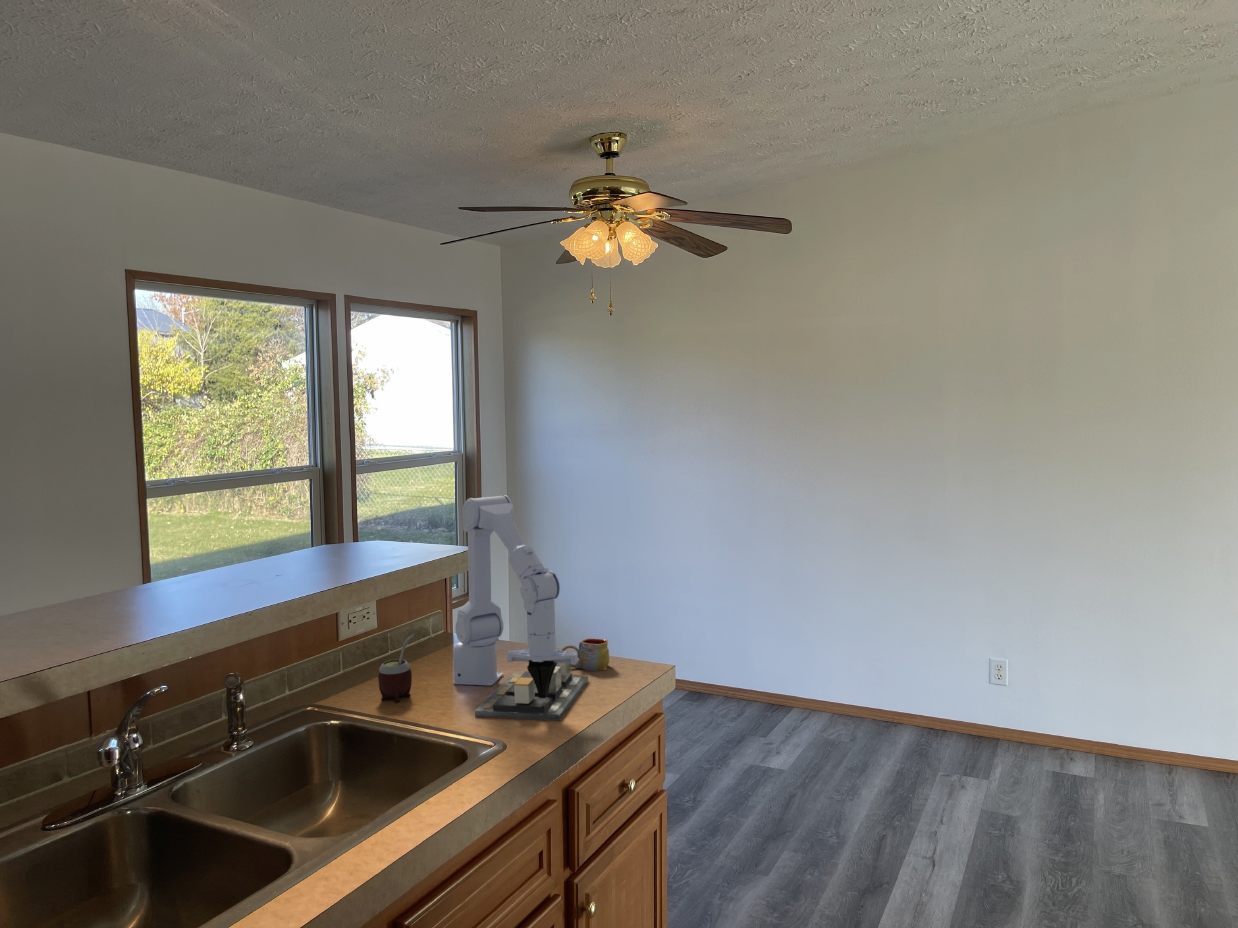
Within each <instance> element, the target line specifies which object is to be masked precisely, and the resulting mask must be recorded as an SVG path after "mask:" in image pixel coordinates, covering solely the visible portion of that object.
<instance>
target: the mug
mask: <svg viewBox="0 0 1238 928" xmlns="http://www.w3.org/2000/svg"><path fill="white" fill-rule="evenodd" d="M608 644H609V641H608V640H607V639H602V638H586V639H583V640H581V641H580V642H579V644H578V647H577V646H576V645H573V644H568V645H565V646H564V647H562V648H561V649H560V650H561V651H567V650H568V649H573V650H575V651H576V653H577V654H578V662H577V663H576V664H575V665H574V664H571V663H570V667H571V668H574V669H582V670H585V671H589V672H597V671H607V670H608V666H609V664H610V650H609V648H608V647H609V645H608Z"/></svg>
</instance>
